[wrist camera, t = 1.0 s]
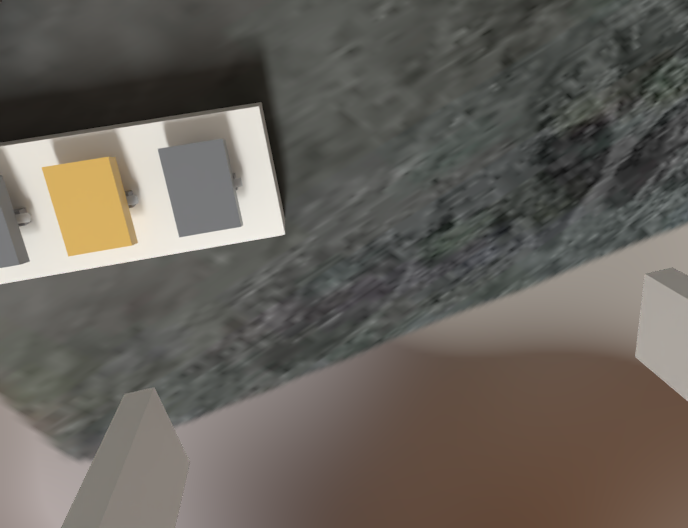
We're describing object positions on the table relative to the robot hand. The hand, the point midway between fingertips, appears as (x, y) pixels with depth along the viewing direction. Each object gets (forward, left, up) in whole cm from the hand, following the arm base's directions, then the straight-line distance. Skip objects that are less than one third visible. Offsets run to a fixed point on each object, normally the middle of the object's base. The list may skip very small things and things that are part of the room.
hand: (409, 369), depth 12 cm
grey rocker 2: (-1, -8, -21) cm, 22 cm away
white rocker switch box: (-1, -18, -26) cm, 31 cm away
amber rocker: (-1, -15, -21) cm, 26 cm away
